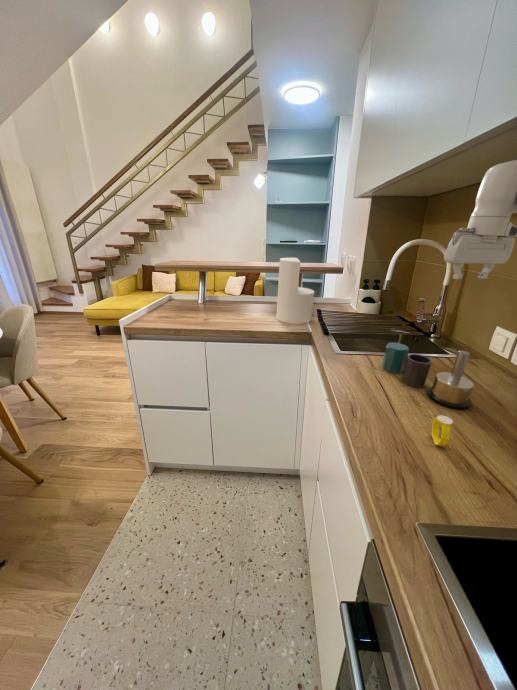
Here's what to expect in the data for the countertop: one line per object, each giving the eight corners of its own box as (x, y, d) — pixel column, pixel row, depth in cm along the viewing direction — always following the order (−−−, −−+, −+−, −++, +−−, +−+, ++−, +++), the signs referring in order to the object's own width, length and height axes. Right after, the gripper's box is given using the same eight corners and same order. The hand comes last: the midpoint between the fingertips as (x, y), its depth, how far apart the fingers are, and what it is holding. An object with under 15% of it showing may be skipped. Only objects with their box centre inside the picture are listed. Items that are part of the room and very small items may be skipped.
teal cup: (400, 365, 94) (405, 343, 90) (404, 374, 88) (411, 351, 85) (380, 363, 95) (385, 341, 92) (384, 371, 89) (389, 349, 86)
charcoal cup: (420, 378, 86) (427, 355, 82) (427, 389, 80) (435, 364, 77) (399, 376, 87) (405, 352, 84) (404, 386, 81) (410, 361, 78)
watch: (426, 430, 63) (433, 409, 61) (440, 433, 63) (447, 411, 60) (433, 449, 58) (441, 426, 56) (448, 452, 57) (457, 429, 55)
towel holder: (460, 391, 79) (476, 346, 74) (477, 412, 70) (497, 363, 65) (422, 386, 81) (435, 342, 76) (434, 406, 72) (450, 358, 67)
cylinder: (276, 322, 131) (280, 261, 120) (276, 312, 147) (279, 257, 136) (313, 324, 131) (320, 262, 120) (308, 313, 146) (314, 258, 135)
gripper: (467, 227, 72) (450, 281, 78) (524, 230, 77) (505, 280, 83) (446, 227, 78) (432, 277, 83) (501, 229, 83) (485, 276, 88)
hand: (469, 278), depth 83 cm, fingers open, 8 cm apart
